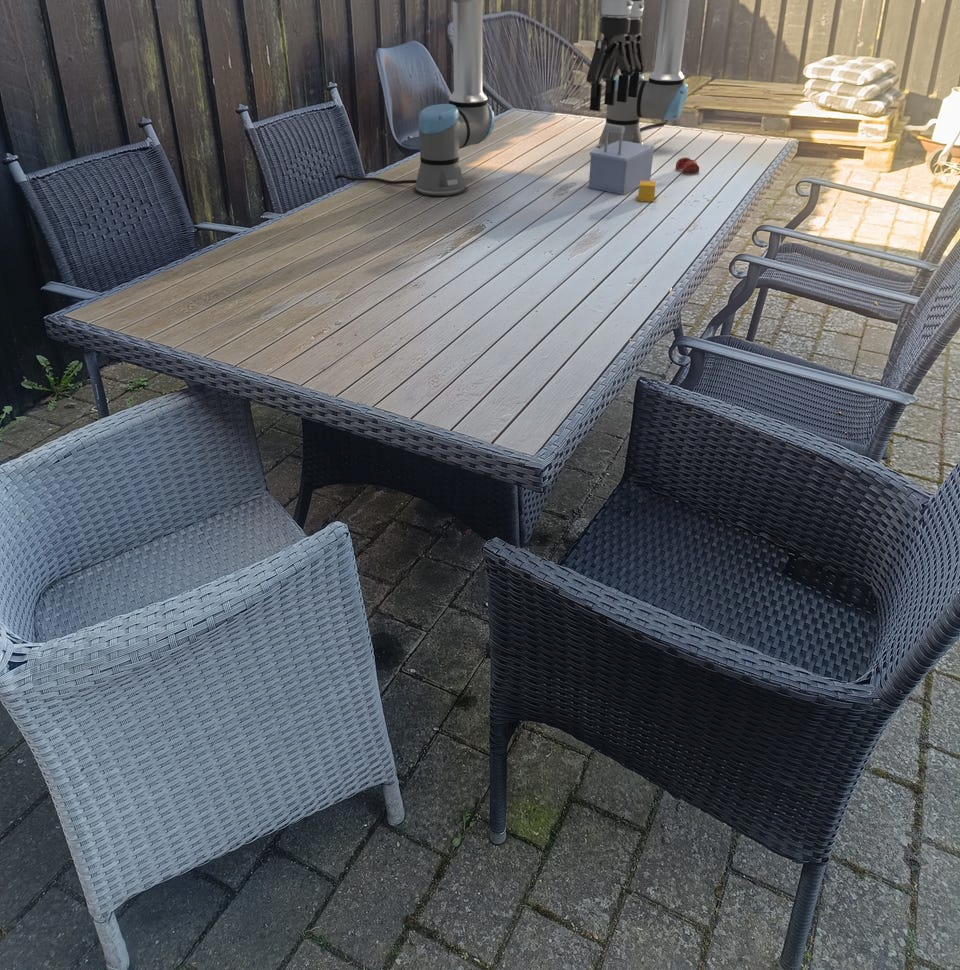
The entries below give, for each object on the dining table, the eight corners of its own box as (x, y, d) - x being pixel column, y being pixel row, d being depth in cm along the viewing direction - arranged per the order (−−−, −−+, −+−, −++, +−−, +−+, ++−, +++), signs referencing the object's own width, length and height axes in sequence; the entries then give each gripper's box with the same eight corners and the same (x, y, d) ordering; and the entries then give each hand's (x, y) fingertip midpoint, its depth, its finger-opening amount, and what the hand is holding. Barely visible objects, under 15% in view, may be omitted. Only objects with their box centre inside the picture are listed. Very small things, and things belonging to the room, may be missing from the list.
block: (653, 202, 249) (655, 185, 246) (637, 200, 249) (639, 184, 247) (654, 197, 252) (656, 181, 250) (638, 196, 253) (640, 180, 250)
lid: (625, 161, 248) (628, 129, 243) (589, 155, 254) (591, 123, 249) (653, 148, 260) (657, 118, 255) (618, 142, 266) (621, 112, 261)
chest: (623, 194, 254) (626, 161, 249) (588, 187, 260) (590, 154, 255) (650, 181, 266) (653, 149, 260) (615, 175, 272) (618, 143, 266)
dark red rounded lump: (690, 153, 276) (701, 160, 269) (689, 167, 278) (700, 174, 272) (674, 155, 275) (685, 162, 268) (673, 169, 277) (684, 175, 271)
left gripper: (602, 22, 204) (595, 116, 216) (653, 12, 219) (644, 100, 232) (576, 19, 207) (570, 112, 220) (628, 10, 223) (620, 96, 236)
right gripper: (617, 23, 222) (610, 109, 234) (662, 14, 238) (653, 95, 250) (593, 21, 225) (587, 106, 238) (638, 12, 242) (630, 92, 254)
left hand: (608, 106), depth 226 cm, fingers open, 13 cm apart
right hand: (620, 100), depth 244 cm, fingers open, 13 cm apart
